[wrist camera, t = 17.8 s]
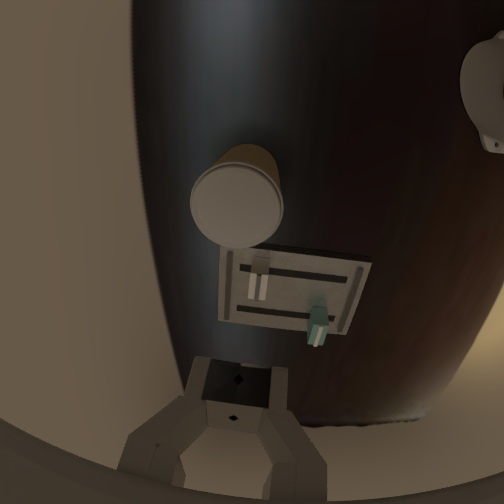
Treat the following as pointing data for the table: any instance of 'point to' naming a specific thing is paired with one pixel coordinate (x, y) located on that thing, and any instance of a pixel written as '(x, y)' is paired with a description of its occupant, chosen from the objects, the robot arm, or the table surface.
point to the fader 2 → (317, 326)
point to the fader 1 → (258, 278)
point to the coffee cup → (239, 198)
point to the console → (291, 286)
